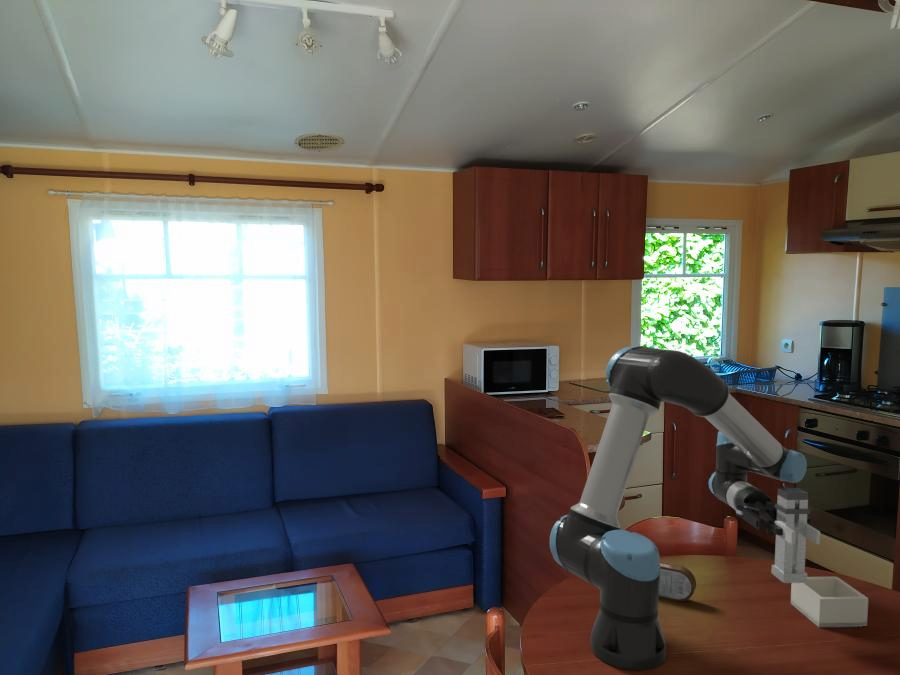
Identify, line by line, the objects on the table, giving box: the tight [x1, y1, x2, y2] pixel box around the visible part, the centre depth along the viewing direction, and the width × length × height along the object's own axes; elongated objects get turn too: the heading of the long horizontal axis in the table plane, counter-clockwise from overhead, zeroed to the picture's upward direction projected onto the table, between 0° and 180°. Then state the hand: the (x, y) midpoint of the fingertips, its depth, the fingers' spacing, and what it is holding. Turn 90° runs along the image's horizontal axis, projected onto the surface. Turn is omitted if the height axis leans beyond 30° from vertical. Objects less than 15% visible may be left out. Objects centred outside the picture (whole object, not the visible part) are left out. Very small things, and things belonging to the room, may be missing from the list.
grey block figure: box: [770, 487, 811, 584], centre depth 140 cm, size 5×5×20 cm
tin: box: [659, 560, 697, 602], centre depth 157 cm, size 15×3×8 cm, turn 63°
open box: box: [790, 576, 869, 628], centre depth 148 cm, size 11×11×6 cm
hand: (805, 538), depth 134 cm, fingers closed on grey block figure, 5 cm apart
